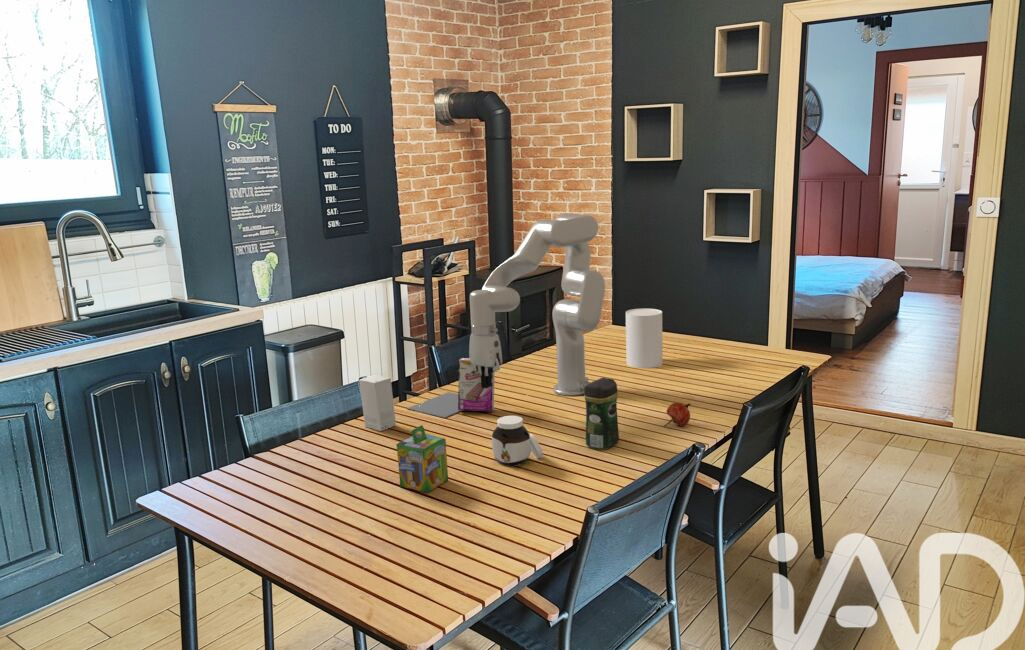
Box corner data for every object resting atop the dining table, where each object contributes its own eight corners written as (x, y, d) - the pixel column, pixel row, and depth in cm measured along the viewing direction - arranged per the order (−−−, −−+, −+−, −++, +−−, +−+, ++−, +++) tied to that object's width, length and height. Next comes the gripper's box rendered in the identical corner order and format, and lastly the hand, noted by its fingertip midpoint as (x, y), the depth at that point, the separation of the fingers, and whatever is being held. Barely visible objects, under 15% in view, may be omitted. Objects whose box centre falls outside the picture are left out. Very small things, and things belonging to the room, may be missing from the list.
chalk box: (427, 494, 189) (423, 437, 186) (398, 487, 194) (393, 431, 191) (450, 480, 197) (446, 425, 193) (421, 473, 201) (417, 419, 198)
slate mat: (485, 401, 258) (485, 399, 258) (444, 418, 243) (444, 417, 243) (448, 393, 268) (448, 392, 268) (406, 409, 253) (406, 408, 253)
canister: (626, 358, 301) (625, 308, 297) (661, 358, 299) (661, 308, 295) (626, 368, 288) (625, 316, 284) (663, 368, 286) (663, 315, 282)
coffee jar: (598, 436, 222) (597, 374, 218) (623, 441, 217) (622, 377, 213) (580, 447, 214) (578, 383, 210) (605, 452, 209) (604, 387, 205)
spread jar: (488, 461, 207) (486, 420, 205) (517, 448, 215) (515, 408, 213) (521, 472, 199) (519, 429, 197) (549, 458, 207) (548, 417, 205)
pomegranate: (673, 438, 223) (700, 417, 222) (657, 419, 223) (684, 397, 222) (669, 432, 231) (696, 411, 230) (654, 413, 230) (680, 392, 229)
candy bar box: (457, 410, 246) (458, 359, 244) (460, 408, 251) (460, 357, 249) (492, 412, 245) (493, 360, 243) (494, 409, 250) (495, 358, 248)
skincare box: (396, 426, 238) (392, 377, 234) (379, 432, 233) (375, 383, 230) (379, 420, 243) (375, 373, 240) (362, 426, 239) (358, 378, 235)
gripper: (510, 330, 237) (512, 387, 241) (473, 325, 246) (476, 380, 250) (494, 335, 231) (497, 393, 235) (457, 330, 240) (460, 386, 244)
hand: (486, 386), depth 243 cm, fingers closed
